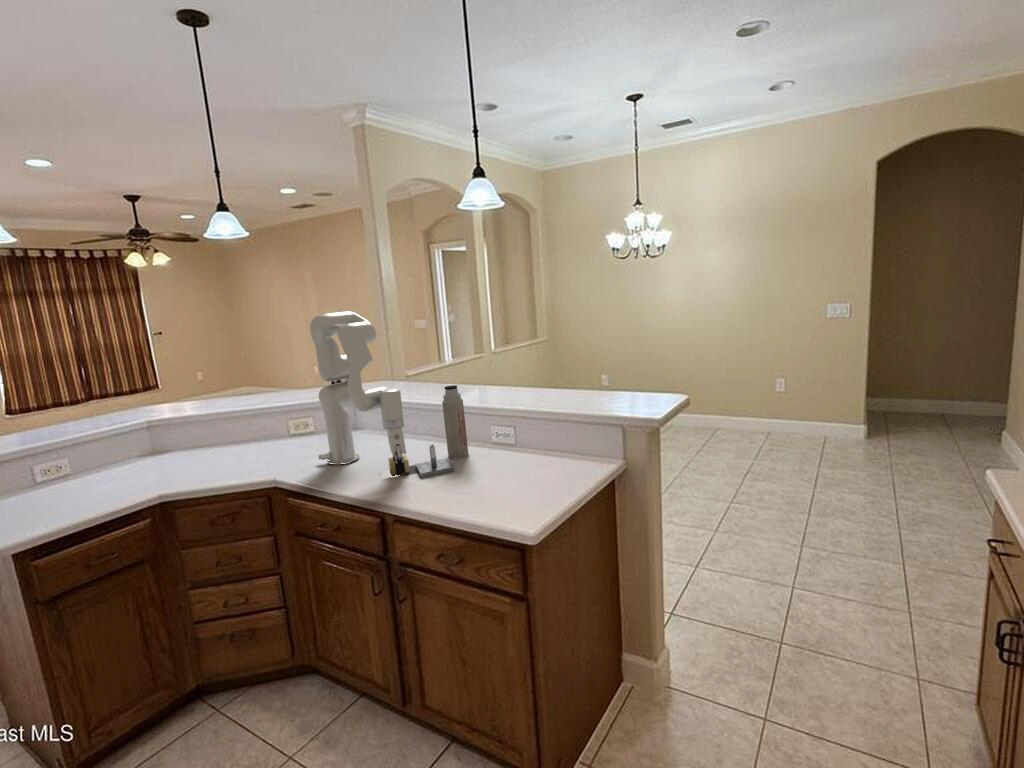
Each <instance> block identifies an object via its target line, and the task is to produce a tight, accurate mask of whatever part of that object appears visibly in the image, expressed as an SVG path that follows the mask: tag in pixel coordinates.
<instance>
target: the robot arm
mask: <svg viewBox="0 0 1024 768" xmlns="http://www.w3.org/2000/svg"><path fill="white" fill-rule="evenodd" d="M309 331H310V336H311V339H312V342H313V344H314V347H315V353H316V360H317V367H318V373H319V376H320V378H321V380H323V381H324V382H334V381H339V380H344V381H341V382H336V383H332V384H328V385H325V386H323V387H322V388H321V389H320V390H319V392H318V401H319V404H320V406H321V409H322V414H323V416H324V417H323V418H324V423H325V424H324V425H325V429H326V435H327V442H328V449H329V450H328V452H326V453H322V454H318V455H317V456H318V460H322V461H324V460H326V462H329V463H333V464H334V463H335V464H341V463H348V462H352V461H355V460H357V459H358V460H359V459H360V454H359V453H356V451H355V443H354V438H353V437H354V436H353V431H352V429H353V428H352V424H351V417H350V414H349V413H348V412H347V411H346V410H345V409H344V407H345V406H350V405H352V404H353V405H354V406H355V408H356V409H357V410H358V411H360V412H361V413H364V412H365V413H366V412H370V411H373V410H378V409H380V413H381V420H382V427H383V430H385V431H387V432H386V435H387V441H388V445H389V450H390V453H391V454H392V457H395V462H396V463H395V468H396V474H402V473H405V466H404V461H403V456H404V455H406V454H407V449H406V443H405V436H404V432H403V428H405V420H404V418H405V417H404V412H403V403H402V402H403V401H402V395H401V391H400V389H398V388H389V387H386V386H378V387H375V388H374V387H373V388H370V389H363V382H362V376H361V375H362V374H361V373H362V372H363V370H365V369H366V368H367V367H369V366H370V365H371V364H372V363H373V361H374V358H373V356H372V353H371V351H370V348H369V346H368V345H367V344H371V343H374V342H375V341H376V338H377V330H376V328H375V326H374V325H373V323H371V322H370V321H369V320H368V319H366V318H364V317H362V316H361V315H359V314H357V313H356V312H353V311H338V312H329V313H328V312H327V313H321V314H318V315H315V316H314V317H313V318H312V319H311V320H310V323H309ZM333 336H338V337H337V339H338V340H339V342H340V345H341V347H342V349H343V352H344V354H340V349H339V348H340V347H339V344H338V343H337V341H336V339H334V337H333ZM403 454H404V455H403ZM396 457H397V458H396ZM328 460H330V461H328ZM358 460H357V461H358ZM355 462H356V461H355ZM352 463H353V462H352Z"/></svg>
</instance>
